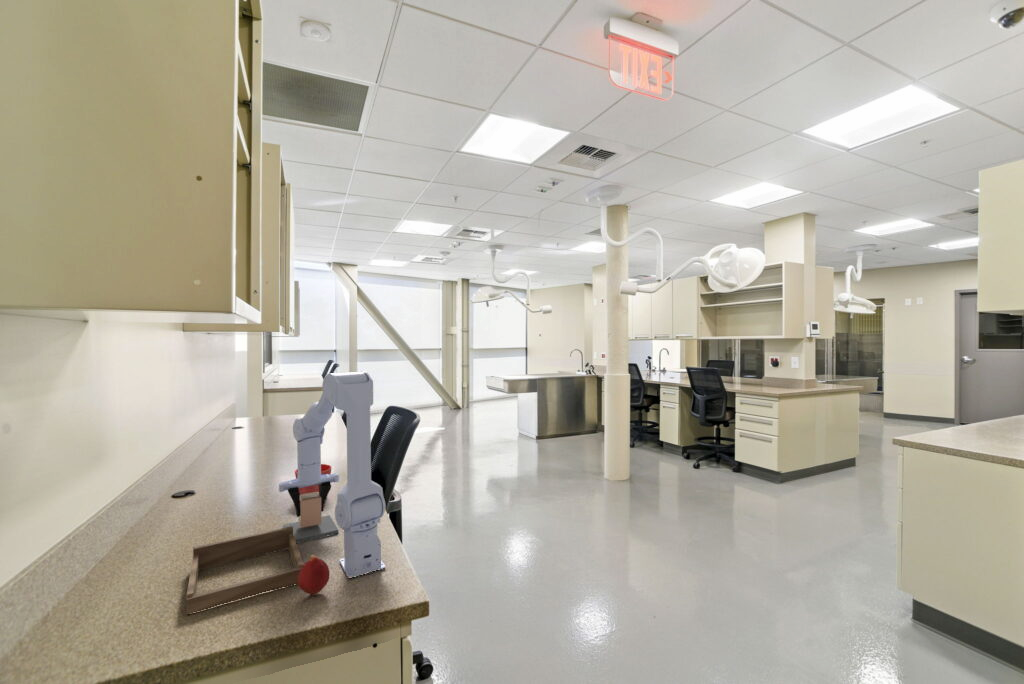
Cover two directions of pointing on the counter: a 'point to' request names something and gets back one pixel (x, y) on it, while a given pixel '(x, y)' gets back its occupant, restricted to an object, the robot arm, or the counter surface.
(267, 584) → the open wooden frame
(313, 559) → the onion
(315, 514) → the upright tan block
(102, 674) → the counter surface
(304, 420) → the robot arm
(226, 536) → the counter surface
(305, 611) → the counter surface
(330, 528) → the rubber mat
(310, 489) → the flower pot
